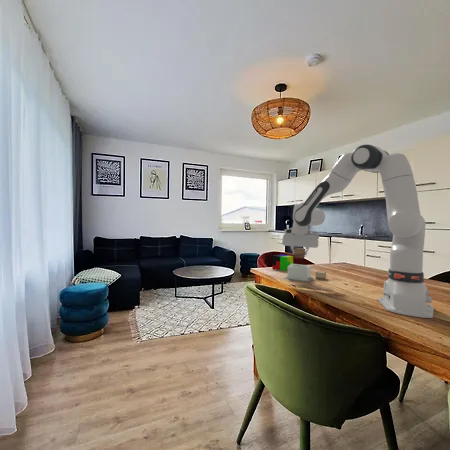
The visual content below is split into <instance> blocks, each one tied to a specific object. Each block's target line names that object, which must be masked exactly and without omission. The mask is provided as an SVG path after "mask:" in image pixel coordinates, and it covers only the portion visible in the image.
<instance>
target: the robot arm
mask: <svg viewBox="0 0 450 450" xmlns="http://www.w3.org/2000/svg"><path fill="white" fill-rule="evenodd" d="M412 169H413V168H412V166H411V164H410V162H409V159H408V158H407V156H406V155H405V154H404V153H398V152H397V153H391V154H389V153H388V151H386V150H384V149H382V148H380V147H378V146H376V145H372V144H361V145H358V146H357V147H356V148H355V149H354V150H353V151H352V152H346V153H343V154H342V155H341V156H340V157H339V159H338V160H337V161H336V163H334V165H333V166H332V168H331V169H330V171H329V172H328V174H327V176H325V178H324V179H323V180H322V181H320V182H319V184H317V185H316V187H315V188H314V189H313V190H312V192H311V193H310V194H309V195H308V197H307V198H306V200H305V201H303V202H298V203H295V204H294V206H293V211H292V212H293V213H292V221H293V222H292V227H290V228H287V229H285V230H284V234H283V236H282V240H281V241H282V245H283V246H285V247H286V246H287V247H290V250H291V251H292V255H294V250H295V247H296V248H305V252H304V255H305V256H308V251H309V250H310V248H312V249H313V248H314V249H317V248H318V247H319V239H320V233H319V232H317V231H315V230H309V226H310V227H311V226H319V225H320V226H321V225H322V224H323V223H324V221H325V218H326V215H325V212H324V211H323V209H320V208H317V207H318V206H319V204H320V203H321V202H322V201H323V199H325V198H326V197H328V196H330V195H333V194H338V193H340V192H343V191H344V190H345V189H346V188H347V187H348V186H349V185H350V183H351V182H352V180H353V179H354V177H355V176H356V174H357V173H359V172H361V171H363V172H369V173H374V174H379V175H380V179H381V183H382V186H383V193H384V196H385V204H386V205H385V206H386V218H387V225H388V229H389V231H390V233H392V241H391V246H390V250H389V251H390V252H389V254H390V255H389V269H388V272H387V274H388V275H387V276H388V278H387V279H386V280H385V281H383V293H382V297H378V299H377V300H378V302H379V303H380V305H382V306H383V307H384V309H386V310H387V311H388V312H392V313H395V314H397V315H398V314H399V315H404V316H409V317H415V318H423V319H424V318H425V319H433V318H434V305H432V302H433V301H432V300H433V298H432V296H430V291H428V286H427V285H426V284H424V281H425V275H424V274H425V273H424V272H423V265H424V264H423V263H424V262H423V261H424V247H425V237H426V225H427V224H426V219H425V218H424V217H423V216H422V215H421V211H420V205H419V197H418V196H419V195H418V190H417V186H416V181H415V177H414V173H413V170H412ZM429 303H430V304H429Z"/></svg>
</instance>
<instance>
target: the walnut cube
mask: <svg viewBox="0 0 450 450" xmlns="http://www.w3.org/2000/svg"><path fill="white" fill-rule="evenodd" d="M304 252H306V248H305V247H294V254H293V255H294V256H293V258H300V259H304V258H305V257H306V255H304Z"/></svg>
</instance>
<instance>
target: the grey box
mask: <svg viewBox="0 0 450 450" xmlns="http://www.w3.org/2000/svg"><path fill="white" fill-rule="evenodd" d="M286 275H287V276H286V277H287V279H286V280H290V279H295V280H294V281H297V280H303V281H302V282H305V281H307V280H309V279H310V278H311V277H312V276H311V275H312V265H308V264H298V263H293V264H291V265H289V266H288V270H287V274H286Z"/></svg>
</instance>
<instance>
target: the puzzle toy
mask: <svg viewBox="0 0 450 450" xmlns="http://www.w3.org/2000/svg"><path fill="white" fill-rule="evenodd" d="M271 264H272V265H271V267H272V269H274V270H278V271H284V272H285V271H288V266H289V265H291V264H294V256H293V255H285V254H276V255H275V254H274V255H272V263H271ZM274 270H273V271H274Z"/></svg>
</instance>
